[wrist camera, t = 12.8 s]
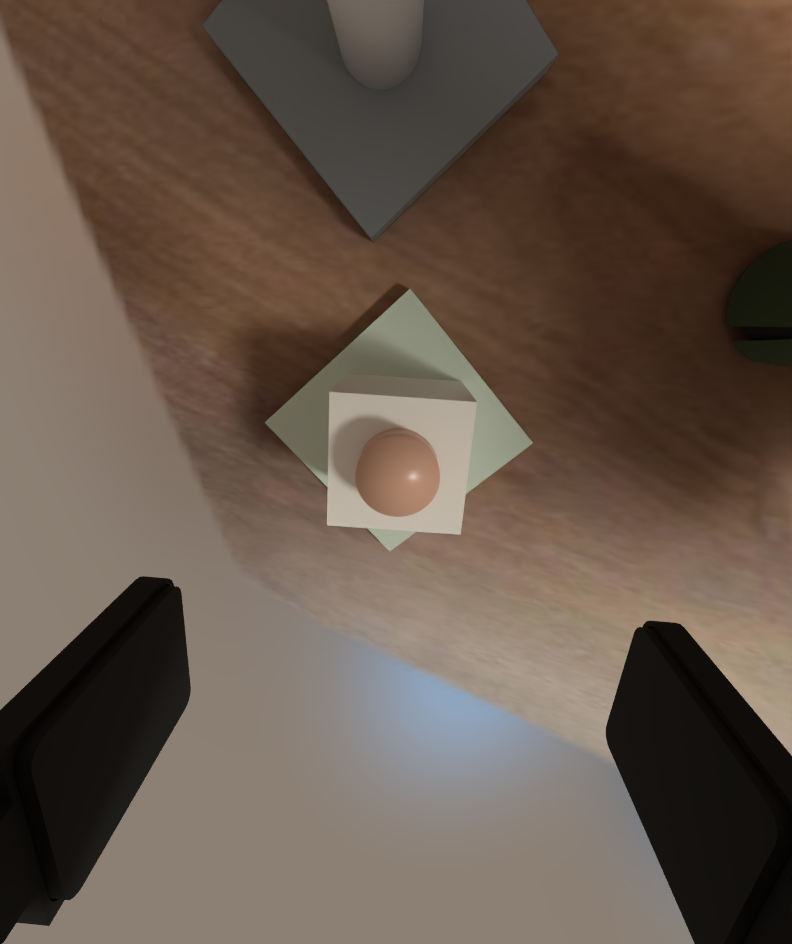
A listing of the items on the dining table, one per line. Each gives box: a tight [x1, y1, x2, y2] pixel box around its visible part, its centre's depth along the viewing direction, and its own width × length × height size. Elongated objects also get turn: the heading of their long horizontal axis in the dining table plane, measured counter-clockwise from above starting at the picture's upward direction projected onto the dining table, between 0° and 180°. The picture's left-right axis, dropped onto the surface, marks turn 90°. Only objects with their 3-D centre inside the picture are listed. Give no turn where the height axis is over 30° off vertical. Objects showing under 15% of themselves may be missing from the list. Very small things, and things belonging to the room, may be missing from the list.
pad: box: [265, 289, 533, 551], centre depth 27 cm, size 11×11×1 cm
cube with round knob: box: [327, 373, 477, 535], centre depth 23 cm, size 6×6×8 cm
